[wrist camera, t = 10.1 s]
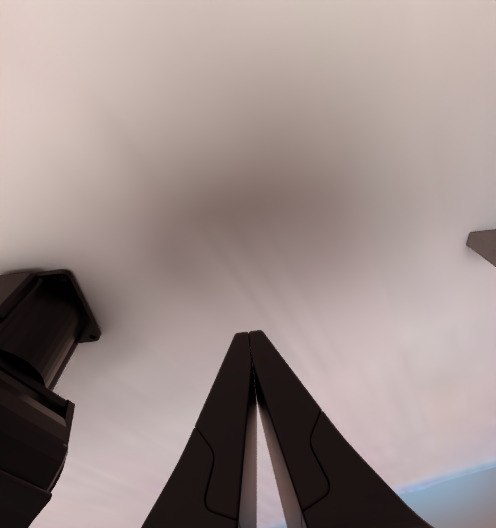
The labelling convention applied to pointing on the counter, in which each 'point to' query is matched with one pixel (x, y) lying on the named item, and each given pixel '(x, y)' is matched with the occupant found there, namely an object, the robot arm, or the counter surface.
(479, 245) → the box
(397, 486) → the counter surface
